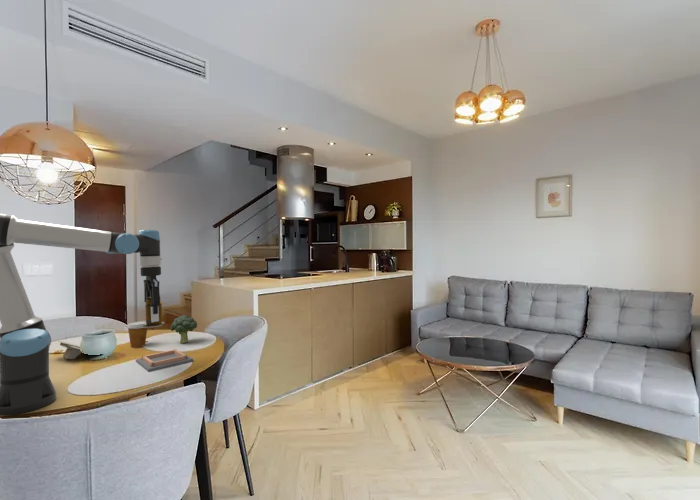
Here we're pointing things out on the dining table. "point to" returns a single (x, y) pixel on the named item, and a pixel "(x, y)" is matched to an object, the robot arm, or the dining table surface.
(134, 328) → the disposable coffee cup
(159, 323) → the condiment
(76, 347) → the grey angled piece
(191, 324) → the vegetable
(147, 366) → the holder
